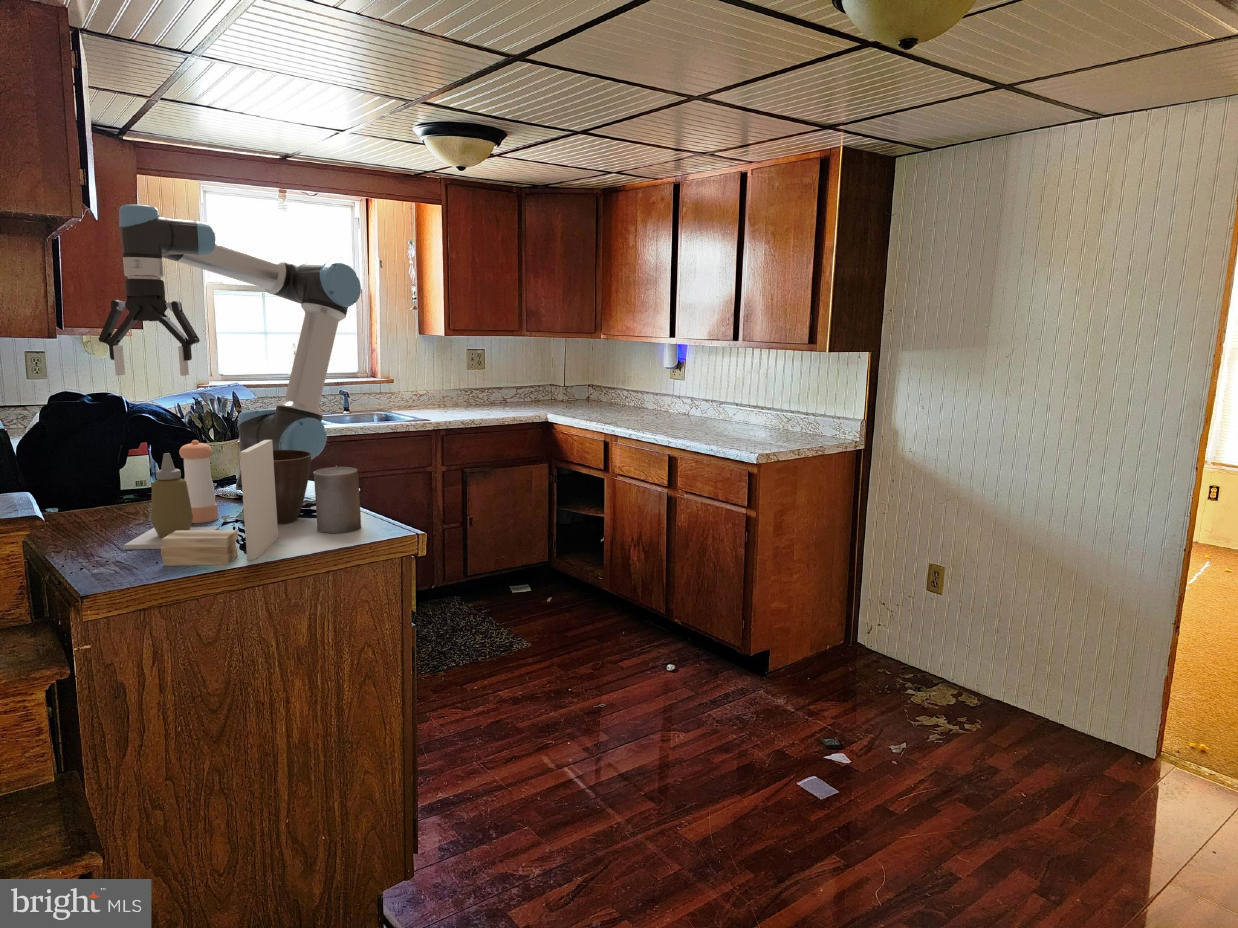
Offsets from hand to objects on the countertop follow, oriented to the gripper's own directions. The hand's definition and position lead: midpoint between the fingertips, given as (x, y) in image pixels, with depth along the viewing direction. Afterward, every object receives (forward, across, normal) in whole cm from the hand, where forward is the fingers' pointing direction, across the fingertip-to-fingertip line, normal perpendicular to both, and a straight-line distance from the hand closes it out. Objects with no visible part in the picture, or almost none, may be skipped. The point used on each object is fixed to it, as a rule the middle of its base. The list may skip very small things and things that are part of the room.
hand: (152, 375), depth 183 cm
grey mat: (+35, +7, -13) cm, 38 cm away
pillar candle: (+35, +40, -5) cm, 53 cm away
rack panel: (+35, +28, -21) cm, 49 cm away
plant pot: (+35, +25, +3) cm, 43 cm away
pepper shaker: (+35, +6, +5) cm, 36 cm away
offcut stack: (+35, +18, -29) cm, 49 cm away
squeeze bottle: (+34, +7, -13) cm, 37 cm away
